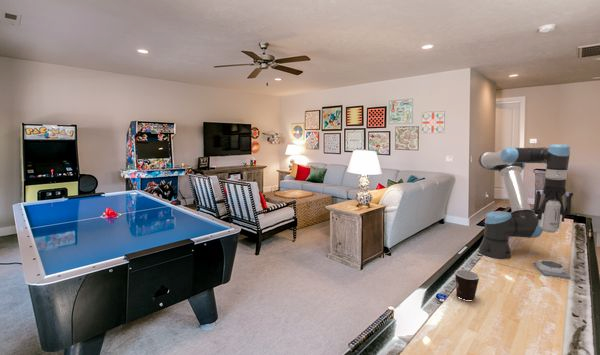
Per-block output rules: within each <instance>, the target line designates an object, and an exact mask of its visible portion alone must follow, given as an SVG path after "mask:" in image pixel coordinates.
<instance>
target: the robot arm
mask: <svg viewBox="0 0 600 355" xmlns="http://www.w3.org/2000/svg"><path fill="white" fill-rule="evenodd" d="M570 155H571V146H570V145H569V144H550V145H549V146H548V147H545V146H543V147H513V146H511V147H504V148H503V149H502V150H500V151H498V150H497V151H487V152H483V153H482V154H481V155H479V157H478V164H479V166H480V168H482V169H484V170H486V171H498V173H499V175H500V176H501V177H503V182H504V185H505V190H506V193H507V197H508V201H509V205H510V209H511V211H510V212H509V211H502V210H500V211H499V210H497V211H490V212H488V213H486V215H485V218H484V229H483V230H484V231H483V238H482V240H481V242H480V244H479V247H478V252H479V253H480V254H482V255H483V256H486V257H489V258H493V259H501V260H505V259H506V260H507V259H510V258H512V250H511V247H510V243H509V240H510V239H509V238H510V237H514V238H528V239H531V238H534V239H535V238H539V237H540V236H541V235H542V233H543V232H544V231H543V230H542V228H541V227H543V221H544V213H543V211H544V209H545V207H546V203H547V202H548V200H550V199H556V200H558V201H559V202H560V204H561V207H560V215H559V223H558V230H560V229H562V222H565V216H567V215H570V214H571V211H572V210H571V209H572V197H573V196H574V193H573V192H571V191H567V190H566V184H567V180H566V179H567V175H568V168H569V162H570ZM526 164H546V167H545V168H546V169H545V176H544V177H545V179H544V183H543V184H544V185H543V188H542V189H539V190H538V189H536V190H535V191H534V192H535V199H534V204H533V208H532V209H531V206H530V203H529V200H528V196H527V193H526V188H525V185H524V181H523V178H522V175H521V173H523V170H524V169H525V167H526ZM543 194H544V197H543V199H542V202H541V198H542V195H543ZM564 195H565V204H564V202H563V198H562V197H563V196H564ZM564 206H565V207H564ZM536 213H537V214H536Z"/></svg>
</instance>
